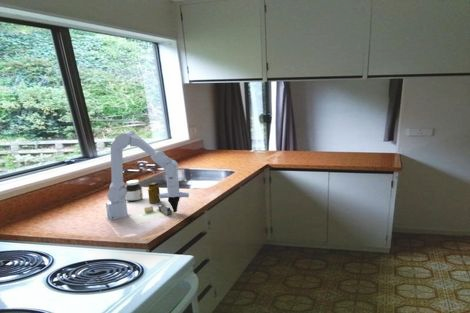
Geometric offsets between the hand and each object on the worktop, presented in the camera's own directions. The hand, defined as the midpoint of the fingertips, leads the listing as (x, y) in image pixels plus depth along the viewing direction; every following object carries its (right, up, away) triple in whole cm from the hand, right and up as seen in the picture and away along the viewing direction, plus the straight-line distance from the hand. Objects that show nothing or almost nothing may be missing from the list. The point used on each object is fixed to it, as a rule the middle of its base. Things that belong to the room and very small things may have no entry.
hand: (175, 211), depth 160 cm
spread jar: (-30, +1, +29) cm, 42 cm away
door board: (-11, -3, 0) cm, 11 cm away
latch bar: (-6, -1, +3) cm, 6 cm away
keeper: (-14, -1, +4) cm, 15 cm away
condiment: (-14, +1, +20) cm, 25 cm away
